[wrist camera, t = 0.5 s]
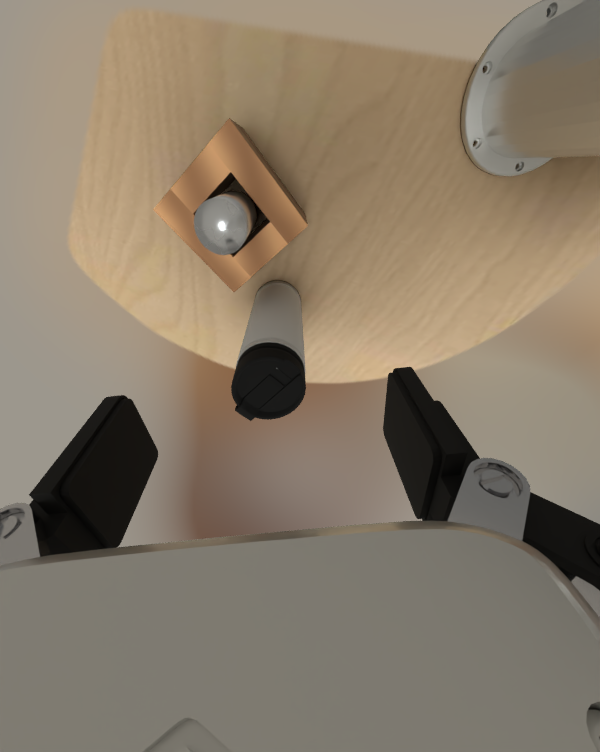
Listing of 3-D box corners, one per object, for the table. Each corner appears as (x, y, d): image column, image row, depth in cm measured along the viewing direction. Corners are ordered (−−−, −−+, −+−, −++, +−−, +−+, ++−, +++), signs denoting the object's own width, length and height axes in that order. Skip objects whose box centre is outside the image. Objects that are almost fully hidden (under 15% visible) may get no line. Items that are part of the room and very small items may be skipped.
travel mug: (243, 304, 41) (211, 397, 25) (276, 269, 39) (265, 347, 22) (277, 333, 44) (268, 435, 27) (310, 302, 41) (322, 394, 25)
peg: (235, 180, 28) (218, 185, 22) (264, 217, 30) (257, 231, 24) (207, 211, 30) (182, 224, 23) (236, 244, 32) (222, 265, 25)
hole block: (242, 128, 31) (229, 118, 24) (305, 214, 35) (307, 225, 28) (180, 200, 34) (153, 209, 27) (243, 270, 39) (234, 292, 32)
